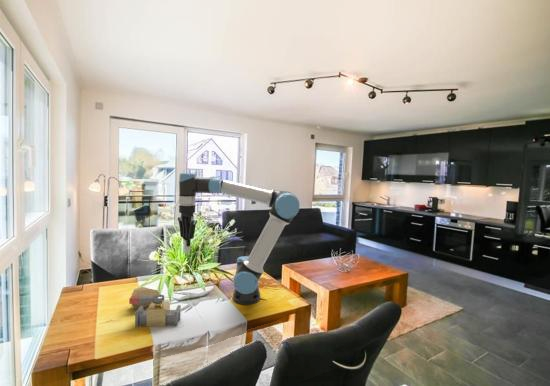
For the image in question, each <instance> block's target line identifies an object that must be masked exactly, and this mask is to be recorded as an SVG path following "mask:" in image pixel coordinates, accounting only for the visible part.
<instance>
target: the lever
mask: <svg viewBox="0 0 550 386" xmlns="http://www.w3.org/2000/svg"><path fill="white" fill-rule="evenodd" d="M128 300H129V305H132V304H138V303H154V304H160V303H163V302H165V295H164V294H160V295H156V296H132V295H131V296H130V297H129V299H128Z"/></svg>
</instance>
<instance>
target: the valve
mask: <svg viewBox="0 0 550 386" xmlns="http://www.w3.org/2000/svg"><path fill="white" fill-rule="evenodd" d="M170 305H171V302H170V301H164V302H163V303H160V304H154V303H151V304H150V305H149V306H147V307H146V308H147V309H146V310H144V308H143V306H140V307H139V309H137V310H136V311H135V312H134V327H135V328H138V327H142V326H146V327H147V328H155V327H156V328H158V327H159V326H165V327H166V326H172V325H171V324H174V325H177V326H178V325H179V323H180V321H179V320H181V318H182V317H181V315H182V313H181V312H182V311H181V310H182V309H181V308H182V307H181V304H179V305H178V304H177V307H175V309H170V308H171V306H170ZM178 322H179V323H178ZM174 325H173V326H174ZM157 326H158V327H157Z"/></svg>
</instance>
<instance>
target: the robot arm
mask: <svg viewBox="0 0 550 386" xmlns="http://www.w3.org/2000/svg"><path fill="white" fill-rule="evenodd" d="M178 186H179V187H178V189H179V196H178V204H179V206H178V212H179V213H180V216H179V217H177V221H178V227H179V235H180V238H182V240H183V254H188V253H191V240H192V239H193V240H194V237H195V231H196V225H197V222H198V220H197V219H195V216H194V213H196V205H195V204H196V193H197V194H198V193H200V194H212V195H213V194H214V195H215V194H223V195H226V196H231V197H235V198H237V199H243V200H247V201H252V202H255V203H259V204H263V205H266V206H267V207H268V208H270V210H269V211H268V213H269V219H268V220H267V222H266V224H265V226H264V227H263V229H262V231H261V233H260V235H259V237H258V238H257V240H256V241H255V242H256V243H255V244H254V245H253V248H252V250H251V252H250V254H249V255H247V256H246V255H245V256H244V255H243V256H239V257H237V259H236V270H235V274H234V277H233V286H234V290H233V292H232V300H233V301H234V302H235V303H237V304H241V305H253V304H255V303H257V302H260V299H261V291H260V288H259V280H260V279H261V277H262V275H263V273H264V265H265V263H266V261H267V260H268V258H269V256H270V254H271V252H272V251H273V248H274V247H275V245H276V243H277V241H278V239H279V237H280V236H281V234H282V232H283V230H284V228H285V227H286V226H287V225H290V223H291V222H292V220H293V219H294V217H295V216H297V214H298V213H299V212H300V206H301V205H300V201H299V200H300V199H298V197H297V196H296V195H295V194H294V193H292V192H290V191H284V190H276V189H270V190H268V189H264V188H260V187H256V186H252V185H247V184H245V183H244V184H243V183H239V182H235V181H231V180H227V179H222V178H219V177H217V176H210V177H199V176H196V173H195V172H181V173H180V174H179V181H178Z"/></svg>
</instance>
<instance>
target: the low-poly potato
mask: <svg viewBox="0 0 550 386" xmlns="http://www.w3.org/2000/svg"><path fill="white" fill-rule="evenodd" d="M158 291H159V290H158V289H152V288H149V287H145V286H140V287H137V288H134V289H133V291H132V294H131V296H156V295H161V294H160V292H158ZM150 304H151V303H138V304H131V306H132V308H135V309H137V310H138V309H139V307H140V306H143V309H146V308H148V307H149V306H150Z"/></svg>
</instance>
